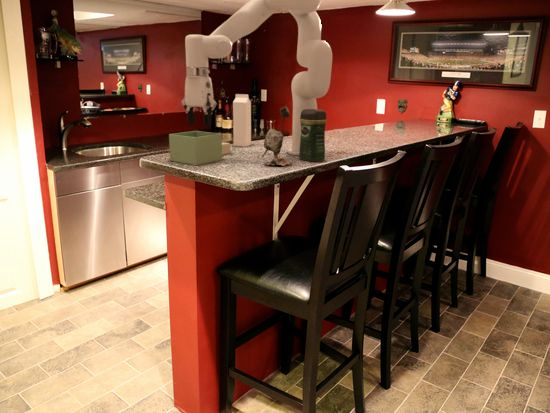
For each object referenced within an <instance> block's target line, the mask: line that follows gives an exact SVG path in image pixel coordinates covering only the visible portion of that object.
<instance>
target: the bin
mask: <svg viewBox="0 0 550 413" xmlns="http://www.w3.org/2000/svg"><path fill="white" fill-rule="evenodd" d="M168 142H169V160H170V161H171V162H175V163H181V164H188V165H193V166H199V165H205V164H208V163H209V164H210V163H213V162H219V161H223V155H222V142H223V134H222V133H219V132H218V133H217V132H208V131H201V130H191V131H184V132H177V133H169V134H168Z"/></svg>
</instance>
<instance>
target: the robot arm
mask: <svg viewBox="0 0 550 413" xmlns="http://www.w3.org/2000/svg"><path fill="white" fill-rule="evenodd" d="M321 4H322V0H248V1H247V2H246V3H244V5H242V7H240V8H239V9H238V10H237V11H236V12H235V13H233V14H232V15H231V16H230V17H229V18H228V19H227V20H225V21H224V22H223V23H221V25H219V26H218V27H217V28H216V29H214V31H212V32H211V34H209V35H203V34H188V35H186V36H185V38H184V47H185V48H184V49H185V66H186V67H185V69H186V77H185V81H184V96H183V99H181V101H180V102H181V104H182V106H183V109H184V110H185V113H186V115H187V116H186V118H187V125H196V112H195V109H196V107H197V108H202V111H203V113H204V114H203V115H202V116H203V117H202V118H203V126H204V127H210V126H212V114H213V112H214V111H215V108H216V106H217V105H218V103H217V102H216V100H215V99H214V89H213V82H212V78H211V77H210V75H209V74H210V73H211V71H210V69H209V59H215V60H216V59H224V58H227V57H228V56H229V55H230V54H231V53H232V50H233V44H234V43H235V42H237V41H238V40H240V39H241V38H243V37H245V36H248V35H249V34H251V33H253V32H254V31H256V30H257V29H258V28H259V27H260V26H261V25H262V24H263V23H265V22H266V21H267V20H268V19H269V18H270V17H271V16H272V15H273V14H274V13H275V12H277V11H278V10H283V9H284V10H287V11H288V13H290V14H291V16H293V19H295V22H296V24H297V29H298V30H297V33H298V34H297V47H296V48H297V49H296V61H297V63H298V64H299V66H301V67H303V68H306V69H307V70H305V71H300V72H298V73H296V74H295V75H294V76H293V78H292V80H291V83H290V84H291V86H290V88H291V96H292V127H291V128H292V129H291V131H292V132H291V148H289V149H287V154H289V155H293V156H299V151H300V139H301V122H300V116H301V112H302V111H303V110H305V109H317V110H318V103H317V99H320V98H323V97H324V96H326V94H327V93H328V91H329V89H330V85H331V80H332V79H331V78H332V69H333V68H332V66H333V51H332V48H331V45H330V44H329V43H328V42H326V40H322V24H321V19H320V16H319V14H318V12H317V10H318V9H319V7H320V6H321Z"/></svg>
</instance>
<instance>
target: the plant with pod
mask: <svg viewBox="0 0 550 413" xmlns="http://www.w3.org/2000/svg"><path fill="white" fill-rule="evenodd" d="M279 113H280V116H281V118H282V122H281V131H279V130H276V129H274V128H270V129H269V130H268V131H267V133H266V135H265V138H264V140H263V147H264V149H265V151H264V153H262V155H261V158H264V156H265V155H266V154H267V153H268V151H270V152H272V153H273V158H272V160H271V161H269V162H267V163H265V165H267V166H275V165H279V166H283V167H285V166H287V165H288V164H289V165H293V162H289V161H287V160H286V158H285V157H281V155H280V153H281V150H282V147H283V143H284V142H283V141H284V134H283V129H284V123H285V118H288V119H291V115H290V114H291V113H290V111H289V108H288V107H287V106H284V107H281V108H280V109H279Z"/></svg>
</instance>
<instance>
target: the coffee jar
mask: <svg viewBox="0 0 550 413" xmlns="http://www.w3.org/2000/svg"><path fill="white" fill-rule="evenodd" d="M300 122H301V139H300V151H299V155H298V157H299V159H300V160H302V161H306V162H318V163H319V162H322V161H324V160H326V146H325V145H326V144H325V142H326V124H327V112H326V111H325V110H323V109H318V108H317V109H305V110H303V111H302V112H301V116H300Z"/></svg>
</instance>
